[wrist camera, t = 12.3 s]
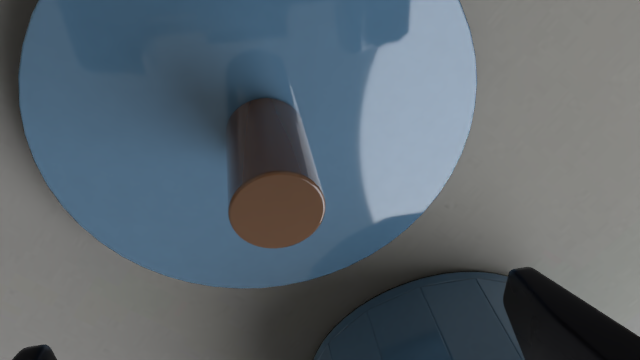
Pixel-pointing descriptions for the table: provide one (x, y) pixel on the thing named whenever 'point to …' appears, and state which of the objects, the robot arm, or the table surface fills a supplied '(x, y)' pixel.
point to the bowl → (429, 323)
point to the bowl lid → (246, 127)
